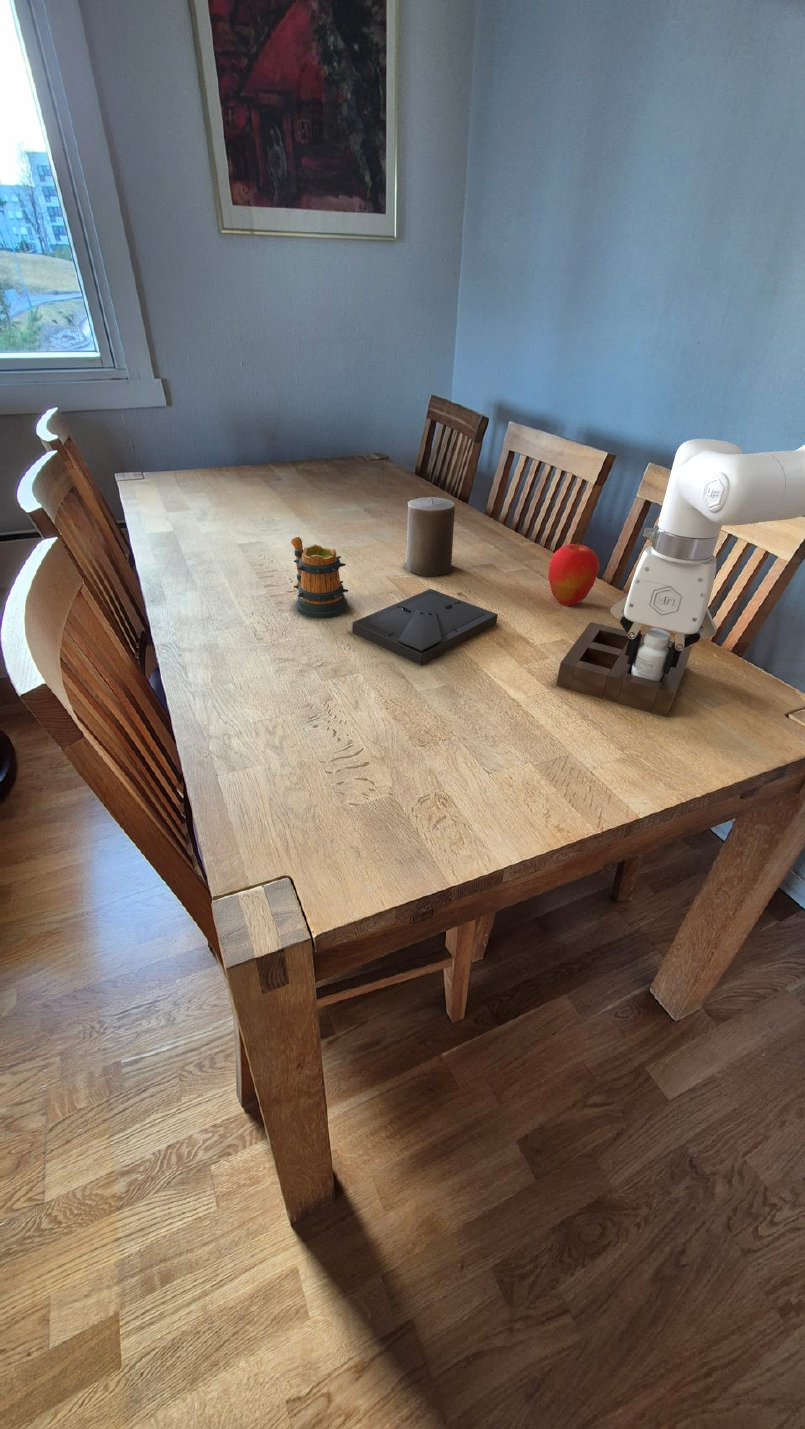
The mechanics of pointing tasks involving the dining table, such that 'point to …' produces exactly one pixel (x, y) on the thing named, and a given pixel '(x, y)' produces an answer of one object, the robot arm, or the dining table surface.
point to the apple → (572, 573)
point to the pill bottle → (652, 655)
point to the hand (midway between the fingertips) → (649, 664)
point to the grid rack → (617, 671)
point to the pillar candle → (430, 536)
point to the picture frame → (424, 625)
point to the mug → (318, 581)
